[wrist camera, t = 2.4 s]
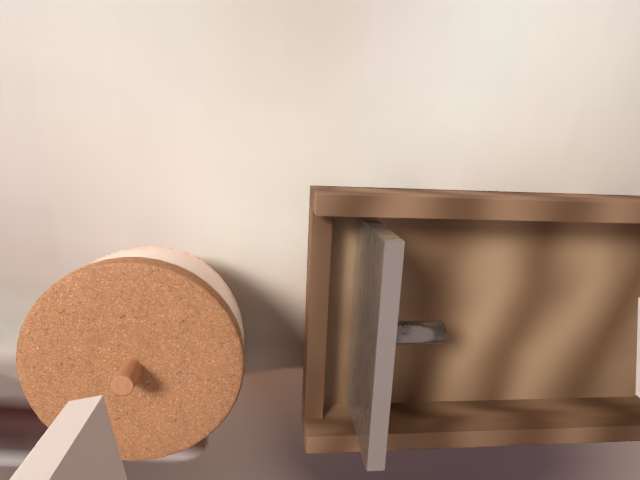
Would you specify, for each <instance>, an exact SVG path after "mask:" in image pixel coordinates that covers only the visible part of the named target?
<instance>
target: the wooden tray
mask: <svg viewBox="0 0 640 480" xmlns="http://www.w3.org/2000/svg"><path fill="white" fill-rule="evenodd" d="M358 217H375V218H376V219H378V220H379V221H380V222H381V223H383V224H384V225H385V226H386V227H387V228H389V229H390V230H391V231H392V232H394V233H395V234H396V235H397V236H398V237H400V238H401V239H402V240H403V241H405V247H404V258H403V269H402V281H401V292H400V303H399V314H398V321H443V322H444V324H445V327H446V341H445V343H444V344H396V348H395V359H394V370H393V382H392V393H391V404H390V415H389V426H388V438H387V449H386V450H411V449H437V448H464V447H489V446H513V445H514V446H516V445H539V444H540V445H542V444H566V443H592V442H593V443H594V442H620V441H640V398H639V397H638V396H637V395H635V392H636V359H637V326H638V298H639V297H640V196H628V195H596V194H564V193H531V192H499V191H466V190H434V189H402V188H369V187H337V186H310V208H309V234H308V260H307V286H306V312H305V338H304V364H303V391H302V423H303V432H304V441H305V449H306V453H331V452H358V451H361V449H360V446H359V442H358V439H357V435H356V432H355V428H354V425H353V421H352V418H351V414H350V411H349V408H348V404H347V401H346V398H347V382H348V366H349V351H350V335H351V319H352V304H353V288H354V272H355V257H356V241H357V225H358Z"/></svg>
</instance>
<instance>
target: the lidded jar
mask: <svg viewBox="0 0 640 480" xmlns="http://www.w3.org/2000/svg"><path fill="white" fill-rule="evenodd" d="M16 362H17V370H18V377H19V380H20V383H21V386H22V390H23V393H24V395H25V396H26V398H27V400H28V402H29V404H30V406H31V407H32V409H33V410H34V412H35V413H36V414H37V416H38V417H39V419H40V420H41V421H42V422H43V423H44V424H45V425H46V426H47V427H48V428H49V427H50V425H51V424H52V423H53V421H54V420H55V419H56V417H57V416H58V415H59V413H60V412H61V411H62V409H63V408H64V407H65V405H66V404H67V403H68V401H73V400H78V399H84V398H89V397H95V396H100V395H103V396H104V400H105V403H106V407H107V411H108V414H109V418H110V421H111V425H112V428H113V432H114V435H115V439H116V442H117V446H118V449H119V453H120V456H121V460H130V461H131V460H148V459H154V458H161V457H165V456H168V455H171V454H174V453H177V452H180V451H182V450H185V449H187V448H189V447H191V446H193V445H195V444H196V443H198V442H199V441H201V440H202V439H204V438H206V437H207V436H208V435H209V434H211V433H212V432H213V431H214V430H215V429H216V428H217V427H218V426H219V425H220V424H221V423H222V422H223V420H224V419H225V418H226V417H227V415H228V414H229V413H230V411H231V409H232V407H233V406H234V404H235V402H236V400H237V397H238V395H239V392H240V389H241V386H242V381H243V375H244V369H245V349H244V330H243V324H242V318H241V313H240V310H239V307H238V305H237V302H236V300H235V298H234V296H233V294H232V292H231V290H230V289H229V287H228V285H227V284H226V283H225V281H224V280H223V279H222V278H221V276H220V275H219V274H218V273H217V272H216V271H215V270H213V269H212V268H211V267H210V266H209V265H207V264H206V263H204V262H203V261H201V260H200V259H198V258H196V257H194V256H192V255H190V254H188V253H185V252H182V251H179V250H175V249H171V248H164V247H137V248H130V249H124V250H121V251H118V252H114V253H111V254H108V255H106V256H103V257H101V258H99V259H97V260H95V261H93V262H91V263H89V264H87V265H85V266H84V267H82V268H80V269H78V270H76V271H74V272H71V273H70V274H68V275H67V276H65V277H64V278H62V279H61V280H59V281H58V282H57V283H55V284H54V285H52V286H51V287H50V288H49V289H48V290H47V291H46V292H45V293H44V294H43V295H42V296H41V297H40V298H39V299H38V300H37V301H36V303H35V304H34V306H33V307H32V308H31V310H30V311H29V313H28V314H27V317H26V319H25V321H24V323H23V325H22V327H21V331H20V335H19V339H18V343H17V356H16Z"/></svg>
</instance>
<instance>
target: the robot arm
mask: <svg viewBox="0 0 640 480" xmlns="http://www.w3.org/2000/svg"><path fill="white" fill-rule="evenodd" d="M635 395H637V396H638V397H639V398H640V297H639V298H638V326H637V359H636V392H635ZM10 480H127V478H126V474H125V471H124V467H123V464H122V460H121V456H120V453H119V449H118V446H117V442H116V439H115V435H114V432H113V428H112V425H111V421H110V418H109V414H108V411H107V407H106V403H105V400H104V396H103V395H100V396H95V397H89V398H84V399H78V400H73V401H68V403H67V404H66V405H65V407H64V408H63V409H62V411H61V412H60V413H59V415H58V416H57V417H56V419H55V420H54V421H53V423H52V424H51V425H50V427H49V428H48V429H47V431H46V432H45V433H44V435H43V436H42V437H41V439H40V440H39V441H38V443H37V444H36V445H35V447H34V448H33V449H32V451H31V452H30V453H29V455H28V456H27V457H26V459H25V460H24V461H23V462H22V464H21V465H20V466H19V468H18V469H17V470H16V472H15V473H14V475H13V476H12V477H11V478H10Z"/></svg>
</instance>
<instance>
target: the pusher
mask: <svg viewBox="0 0 640 480" xmlns="http://www.w3.org/2000/svg"><path fill="white" fill-rule="evenodd" d="M404 247H405V241H403V240H402V239H401V238H400V237H398V236H397V235H396V234H395V233H394V232H392V231H391V230H390V229H389V228H387V227H386V226H385V225H384V224H383V223H381V222H380V221H379V220H378V219H376V218H375V217H358V225H357V241H356V257H355V272H354V288H353V304H352V319H351V335H350V351H349V366H348V382H347V398H346V401H347V404H348V408H349V411H350V414H351V418H352V421H353V425H354V428H355V432H356V435H357V439H358V442H359V446H360V449H361V453H362V456H363V460H364V463H365V466H366V470H367V471H380V470H385V459H386V449H387V438H388V426H389V415H390V404H391V393H392V382H393V370H394V359H395V348H396V344H444V343H445V341H446V327H445V324H444V322H443V321H398V314H399V303H400V292H401V281H402V269H403V258H404Z"/></svg>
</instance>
